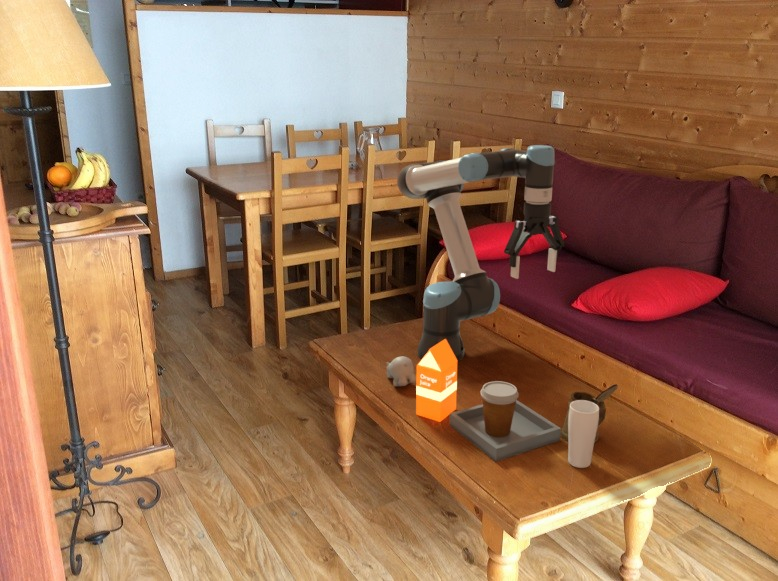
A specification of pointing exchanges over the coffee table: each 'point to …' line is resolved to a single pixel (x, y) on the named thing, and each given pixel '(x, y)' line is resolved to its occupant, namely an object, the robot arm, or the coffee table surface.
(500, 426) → the disposable coffee cup
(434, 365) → the orange juice
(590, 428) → the drinking glass
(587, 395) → the wooden mug
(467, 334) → the coffee table surface
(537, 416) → the tray
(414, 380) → the round bodied animal figurine
